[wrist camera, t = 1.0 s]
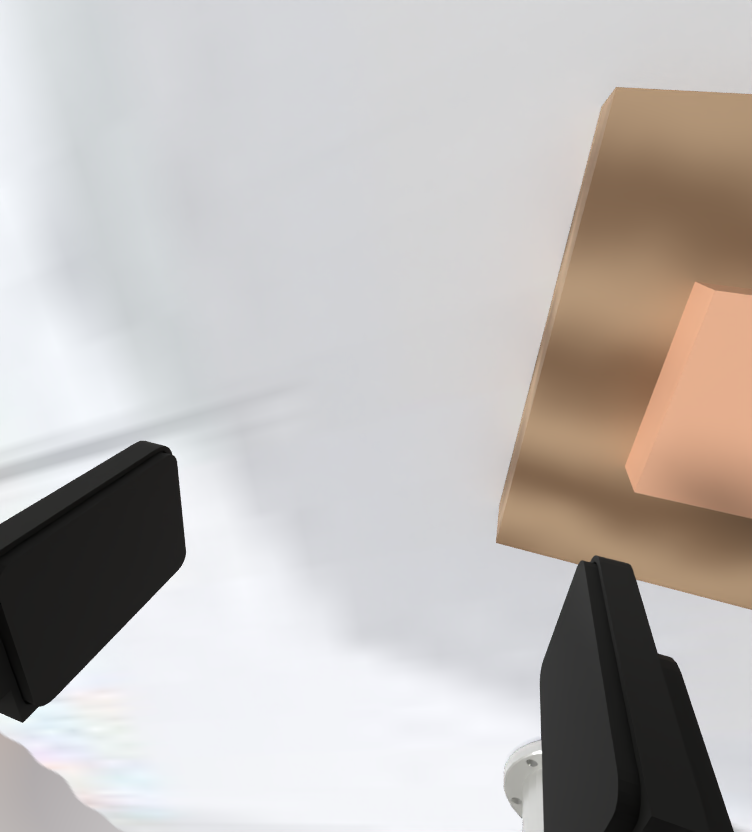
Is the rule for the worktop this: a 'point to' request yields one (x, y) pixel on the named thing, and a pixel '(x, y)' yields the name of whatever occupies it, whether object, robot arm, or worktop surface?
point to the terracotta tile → (702, 408)
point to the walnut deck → (634, 341)
